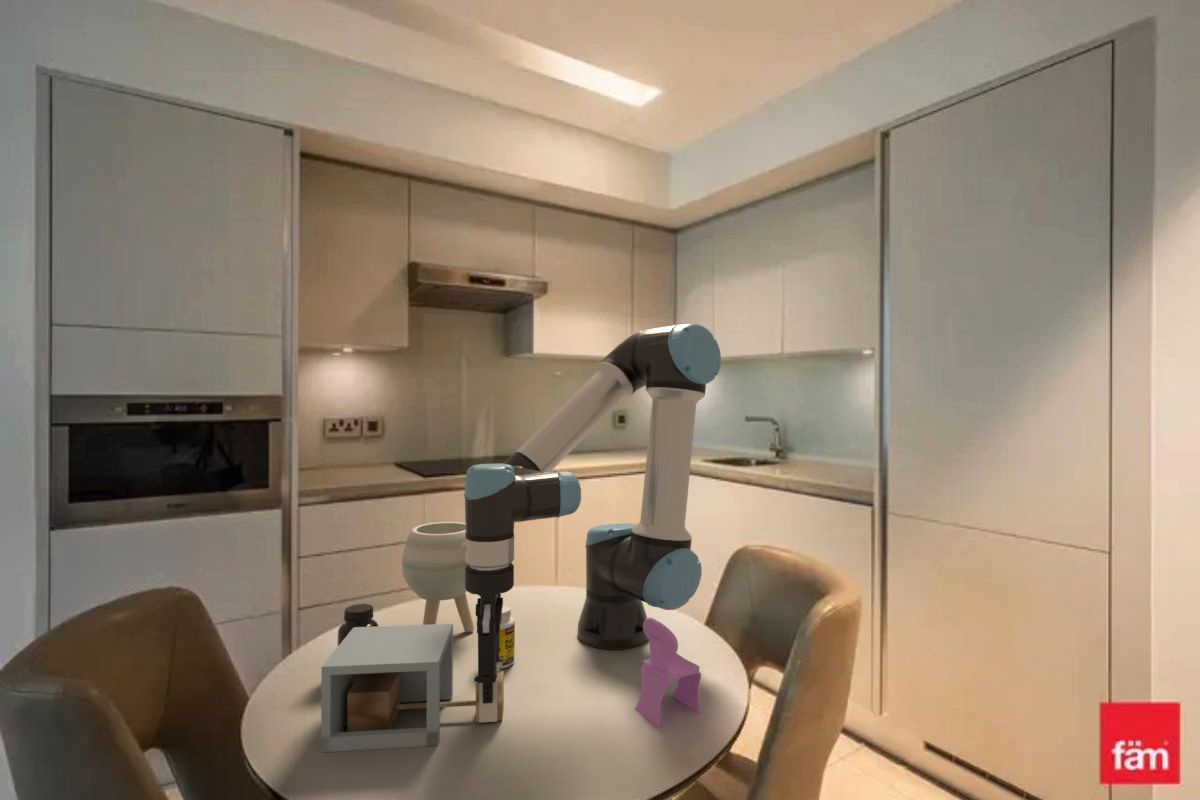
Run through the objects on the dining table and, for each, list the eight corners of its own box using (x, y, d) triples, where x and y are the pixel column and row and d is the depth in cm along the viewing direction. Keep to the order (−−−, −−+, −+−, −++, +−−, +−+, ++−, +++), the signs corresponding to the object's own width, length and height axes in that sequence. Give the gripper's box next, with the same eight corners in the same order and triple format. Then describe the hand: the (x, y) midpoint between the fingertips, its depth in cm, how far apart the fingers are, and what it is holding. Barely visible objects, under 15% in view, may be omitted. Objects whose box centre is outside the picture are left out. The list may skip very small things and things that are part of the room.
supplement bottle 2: (507, 672, 104) (507, 615, 104) (479, 668, 106) (479, 613, 106) (519, 658, 110) (519, 605, 110) (492, 655, 111) (492, 602, 111)
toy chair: (707, 714, 90) (707, 619, 90) (663, 731, 86) (664, 631, 86) (672, 691, 97) (673, 603, 97) (631, 706, 93) (631, 614, 93)
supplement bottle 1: (363, 686, 99) (363, 616, 99) (328, 682, 100) (328, 613, 100) (386, 667, 106) (386, 602, 106) (352, 664, 107) (353, 600, 107)
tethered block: (504, 704, 93) (504, 667, 93) (501, 725, 87) (501, 685, 87) (360, 711, 91) (360, 673, 91) (347, 733, 85) (347, 693, 85)
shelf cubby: (452, 695, 96) (453, 623, 96) (438, 745, 82) (438, 661, 82) (353, 700, 94) (353, 627, 94) (321, 752, 80) (321, 666, 80)
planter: (496, 629, 124) (497, 525, 124) (439, 657, 110) (439, 540, 110) (444, 613, 132) (445, 517, 132) (385, 638, 119) (385, 530, 119)
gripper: (471, 550, 97) (471, 687, 97) (457, 581, 81) (457, 746, 81) (516, 549, 98) (515, 685, 98) (511, 579, 82) (511, 743, 82)
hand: (489, 712), depth 90 cm, fingers closed on tethered block, 3 cm apart
